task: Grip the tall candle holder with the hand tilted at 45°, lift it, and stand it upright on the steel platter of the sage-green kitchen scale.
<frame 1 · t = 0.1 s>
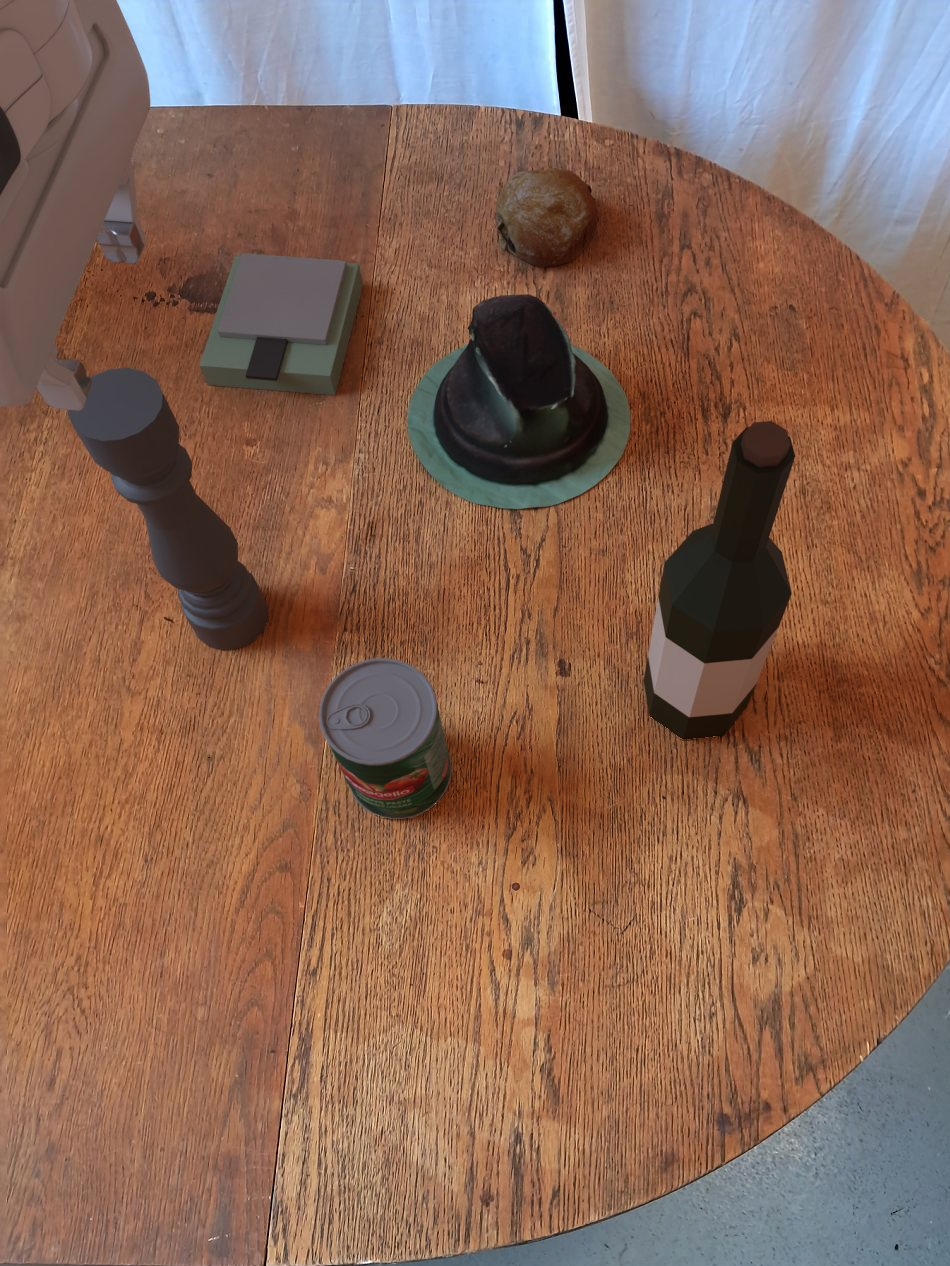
hand: (101, 323, 50), 36 cm above the table, tool pointing down, fingers open, 8 cm apart
bread roll: (547, 233, 104), on the table
candle holder: (231, 618, 85), on the table
wine bottle: (694, 695, 82), on the table
scale: (287, 333, 98), on the table
canned tomato: (400, 772, 79), on the table
black hat: (519, 420, 94), on the table
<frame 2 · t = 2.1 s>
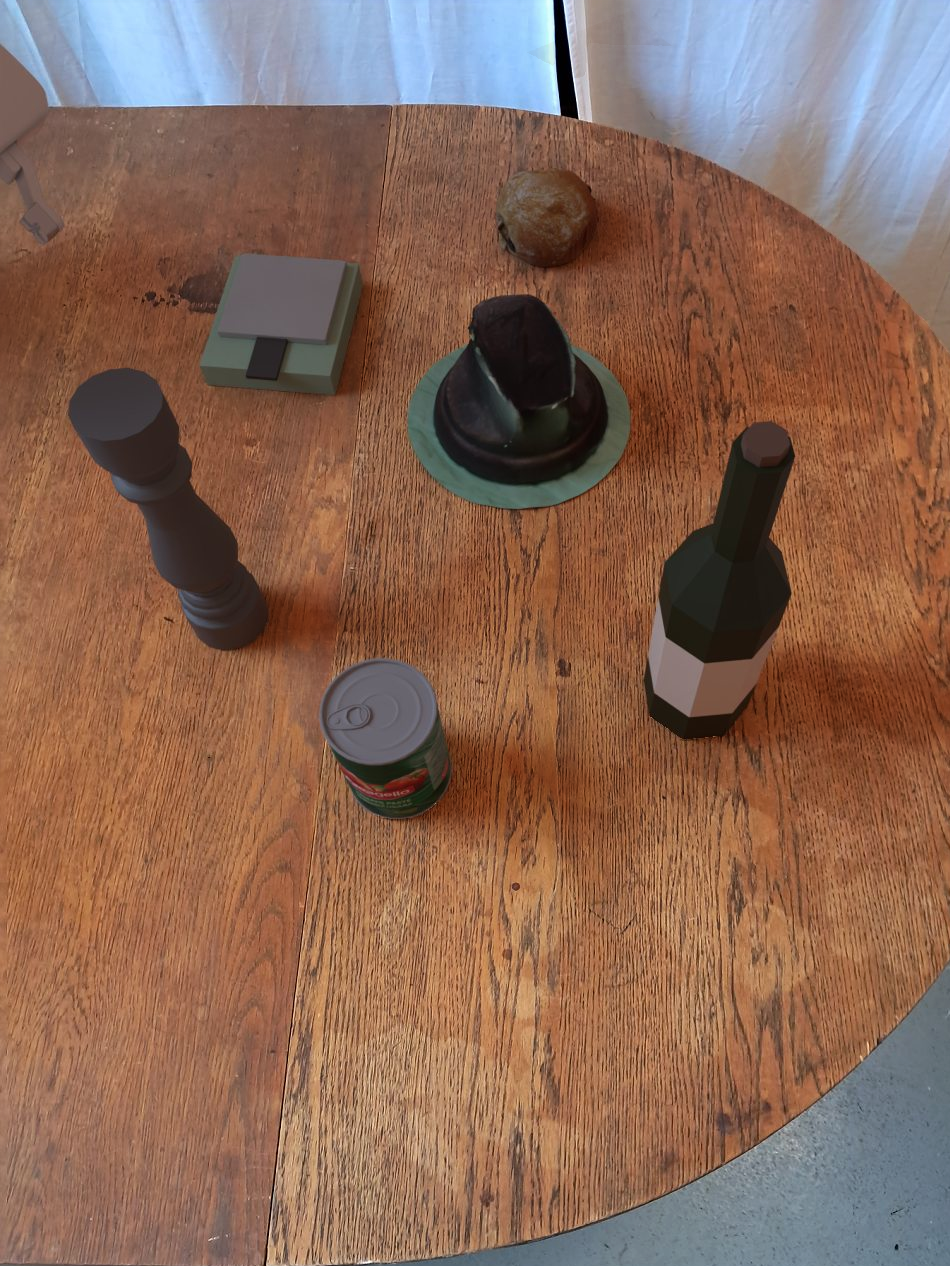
nothing on the table moved.
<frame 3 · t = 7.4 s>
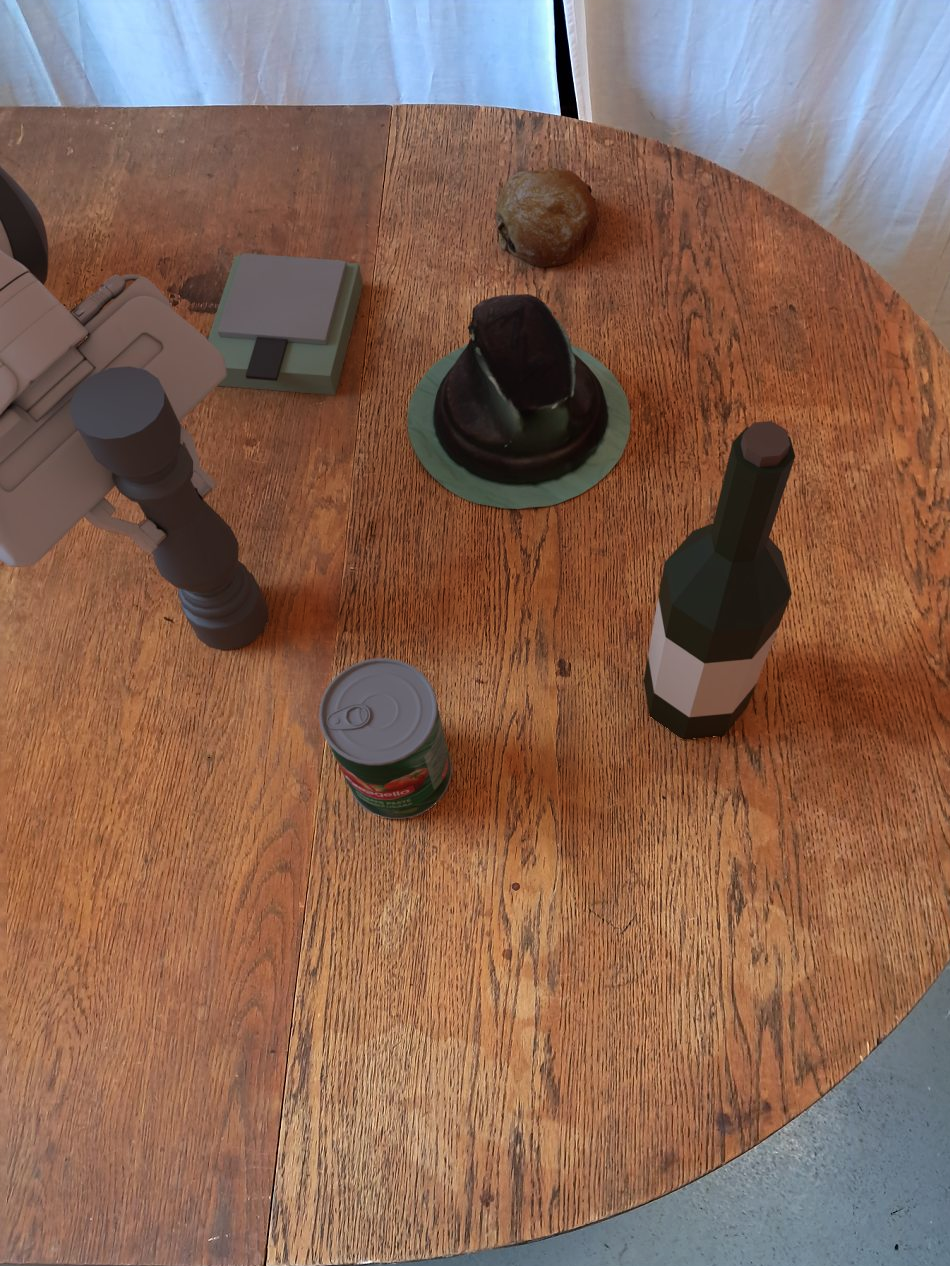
hand: (182, 519, 72), 14 cm above the table, tool tilted 45°, fingers closed on candle holder, 4 cm apart
candle holder: (231, 618, 85), on the table, touching gripper
everything else where it was.
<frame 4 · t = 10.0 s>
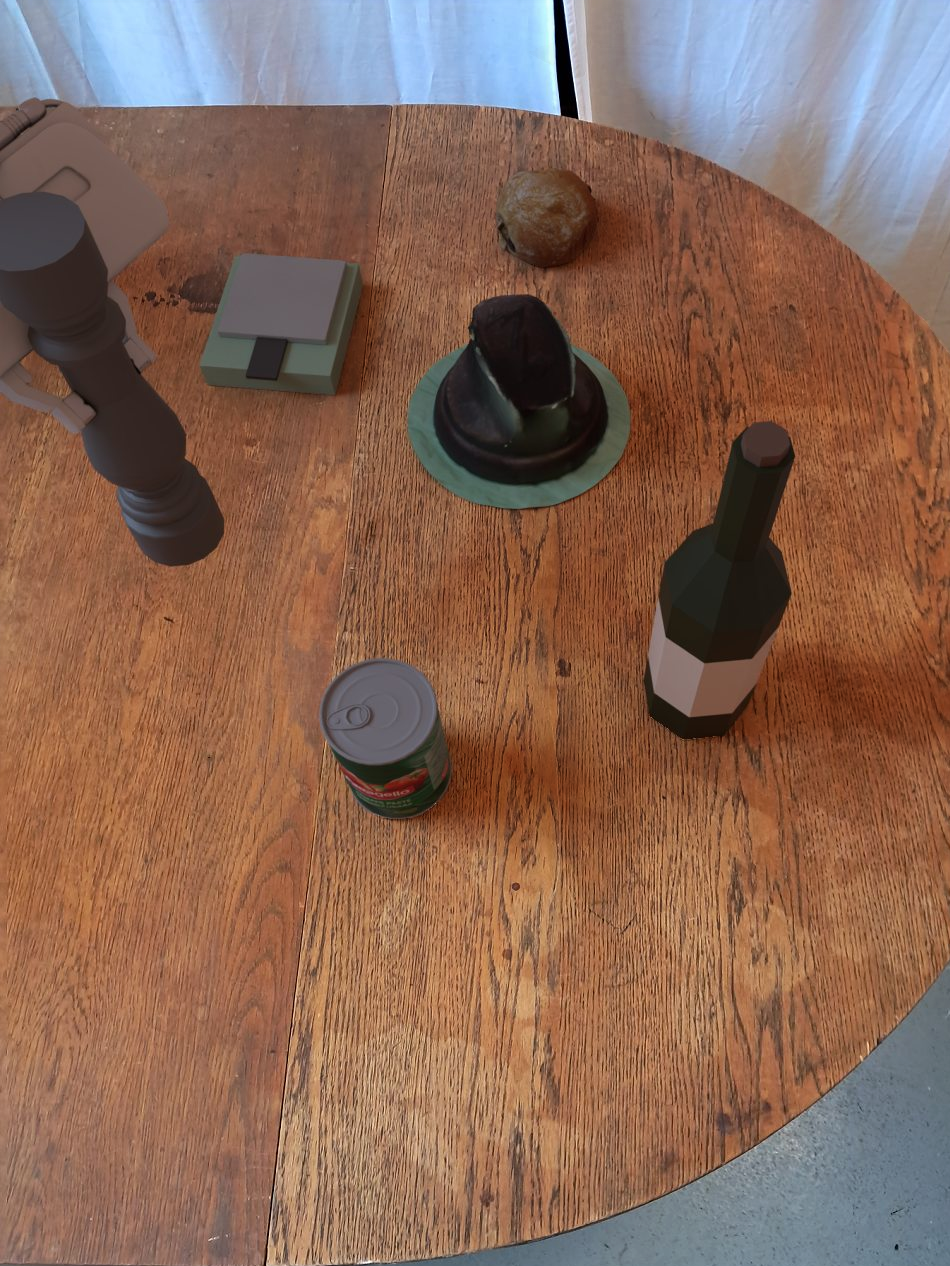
hand: (116, 397, 62), 26 cm above the table, tool tilted 45°, fingers closed on candle holder, 4 cm apart
candle holder: (182, 531, 74), point 12 cm above the table, touching gripper
everything else where it was.
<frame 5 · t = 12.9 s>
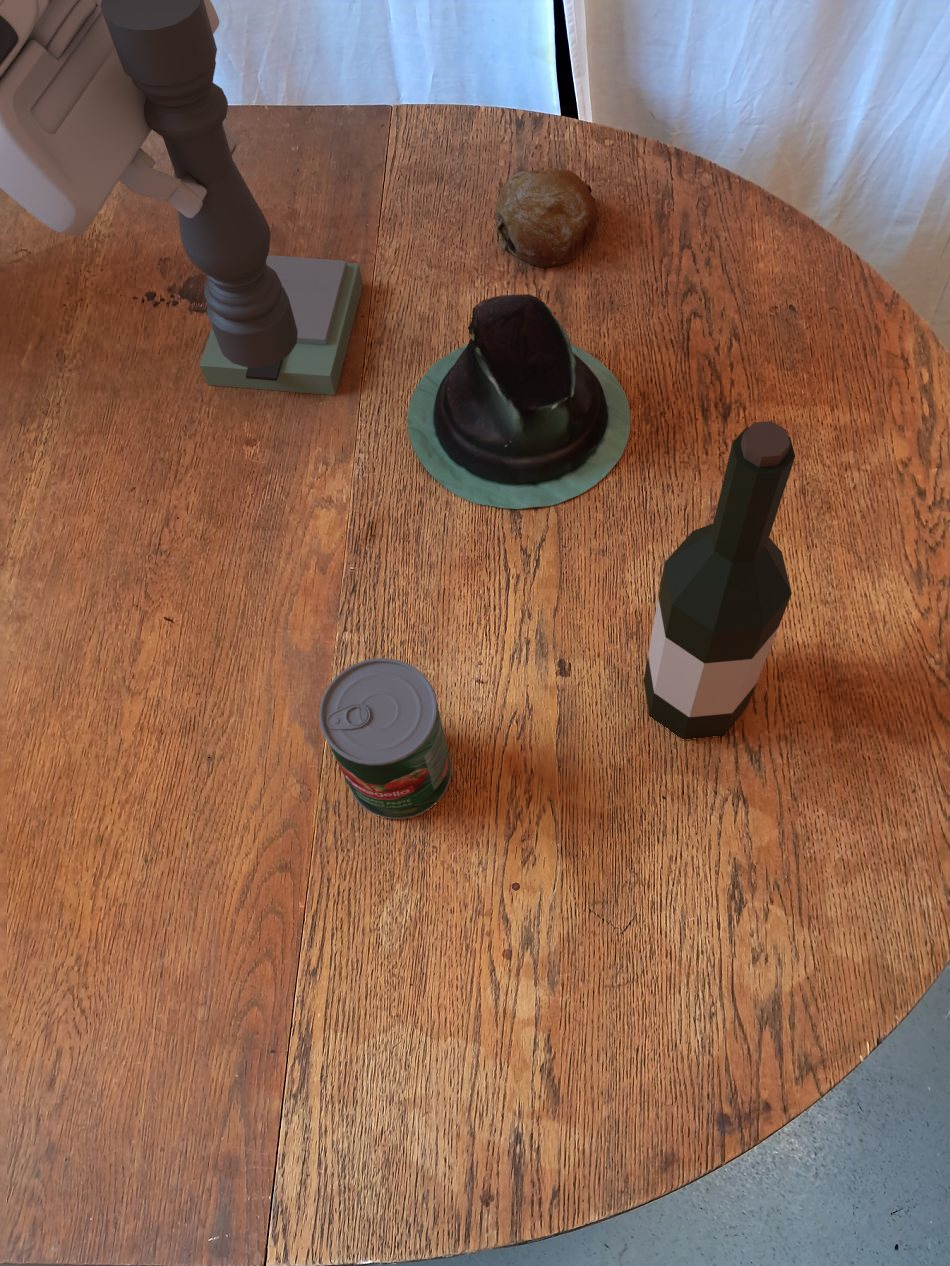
hand: (216, 180, 69), 26 cm above the table, tool tilted 45°, fingers closed on candle holder, 4 cm apart
candle holder: (258, 340, 82), point 12 cm above the table, touching gripper
everything else where it was.
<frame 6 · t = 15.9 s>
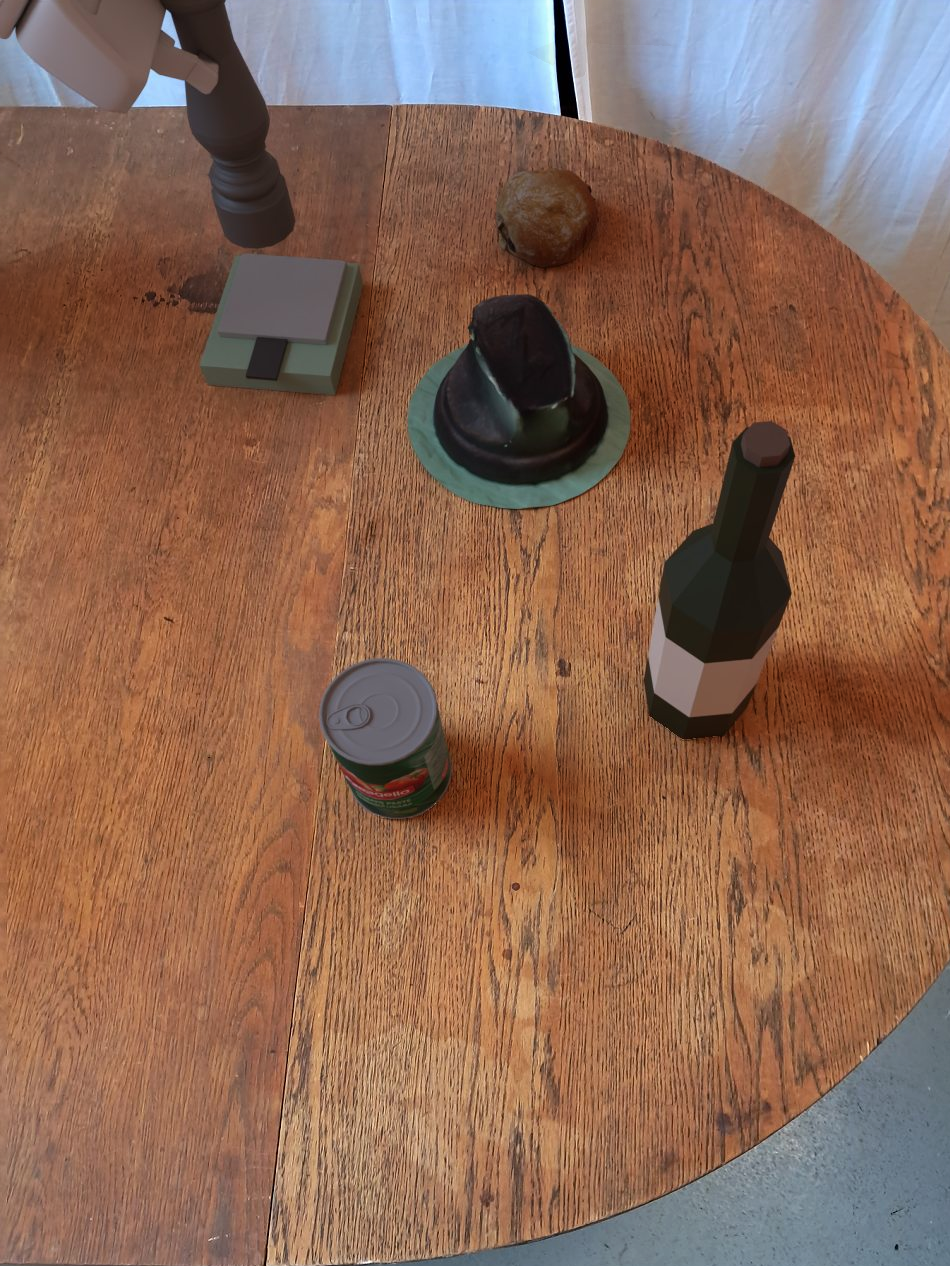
hand: (220, 59, 76), 25 cm above the table, tool tilted 45°, fingers closed on candle holder, 4 cm apart
candle holder: (259, 225, 88), point 11 cm above the table, touching gripper
everything else where it was.
when the fingers open (17 cm above the table, at t = 18.5 s): candle holder stays where it is, resting on scale.
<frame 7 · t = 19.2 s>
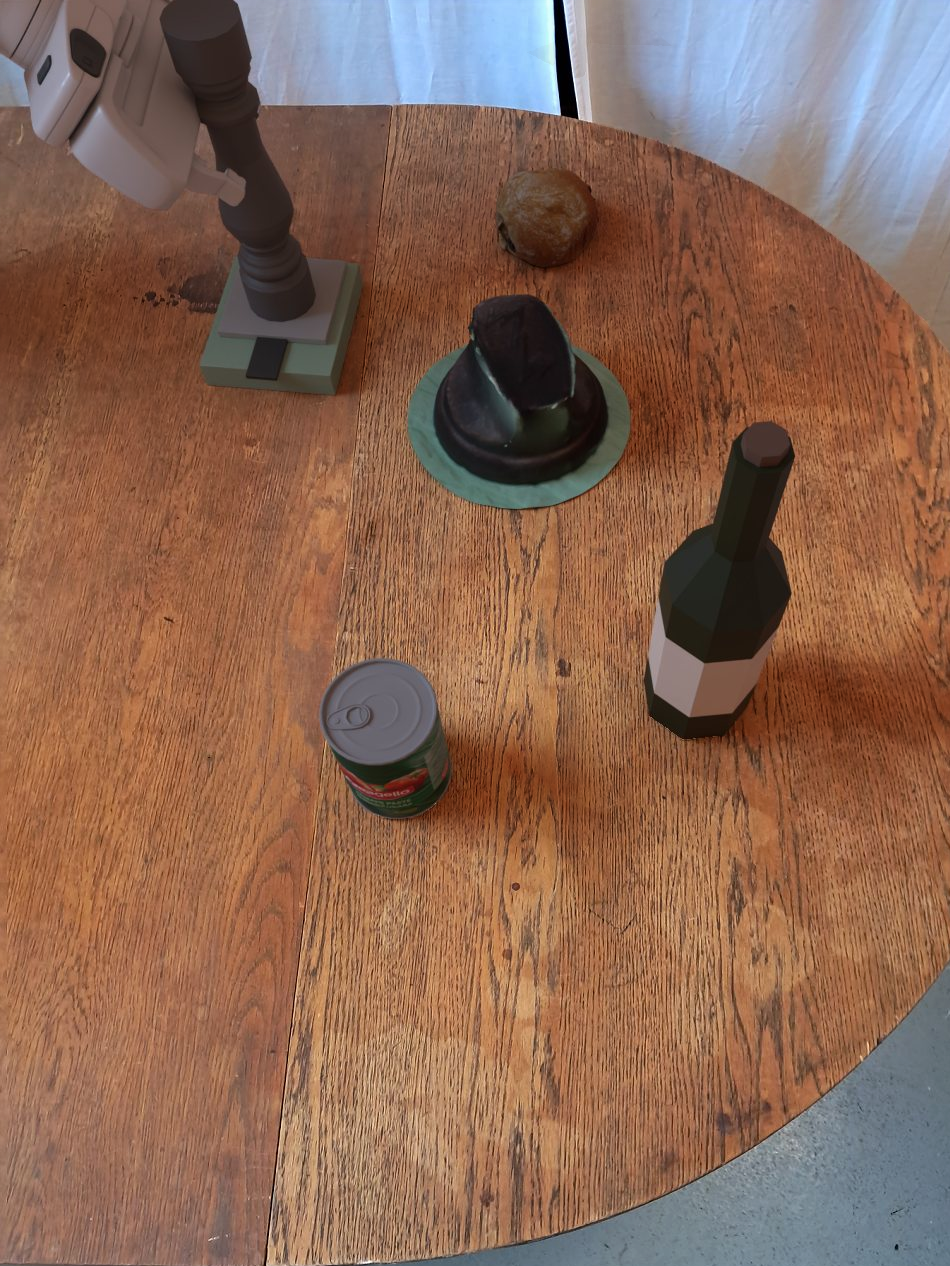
hand: (249, 154, 83), 17 cm above the table, tool tilted 45°, fingers open, 8 cm apart
candle holder: (282, 298, 96), point 3 cm above the table, touching scale
everything else where it was.
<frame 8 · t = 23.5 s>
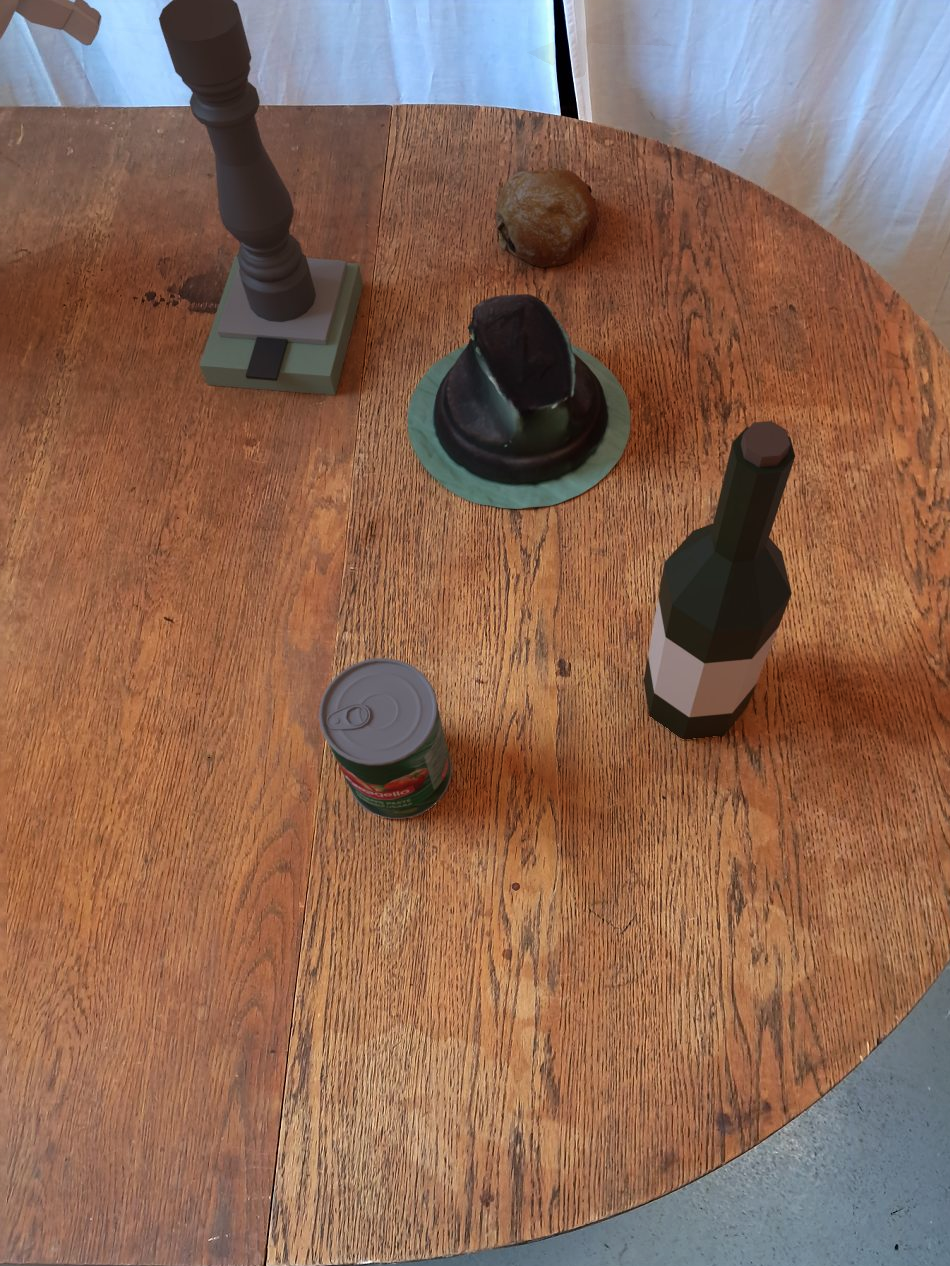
nothing on the table moved.
at the end: candle holder inside the target area on the scale (0.3 cm from its centre), point 3.0 cm above the scale's base; candle holder tilted 0°; the gripper is holding nothing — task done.
